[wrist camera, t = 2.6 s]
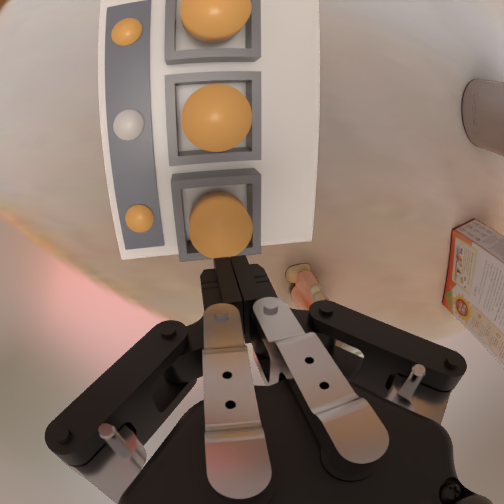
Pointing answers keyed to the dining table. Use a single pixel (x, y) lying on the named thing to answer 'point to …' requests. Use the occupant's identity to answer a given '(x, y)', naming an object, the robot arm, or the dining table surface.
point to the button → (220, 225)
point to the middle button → (216, 117)
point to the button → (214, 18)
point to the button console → (178, 145)
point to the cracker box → (478, 284)
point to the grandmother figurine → (310, 294)
